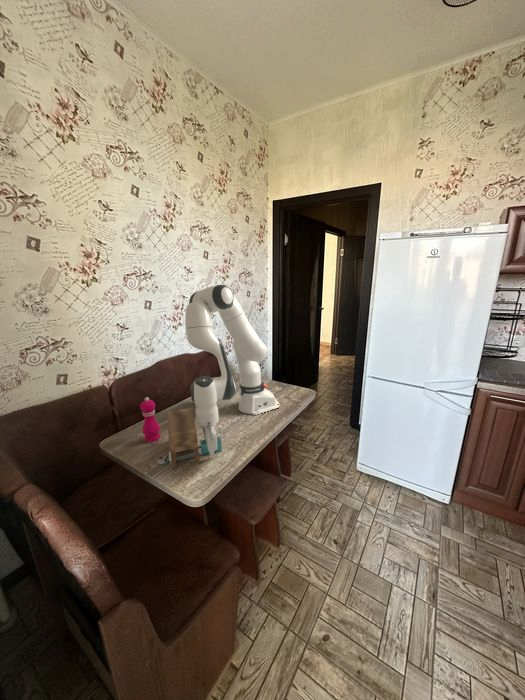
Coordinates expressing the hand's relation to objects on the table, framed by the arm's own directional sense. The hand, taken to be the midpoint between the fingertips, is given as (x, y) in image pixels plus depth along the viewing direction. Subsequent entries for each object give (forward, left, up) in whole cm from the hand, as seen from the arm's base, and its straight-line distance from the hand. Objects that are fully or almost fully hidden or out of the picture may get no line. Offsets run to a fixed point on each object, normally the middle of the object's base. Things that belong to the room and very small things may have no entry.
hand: (210, 447), depth 114 cm
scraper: (+6, 0, -2) cm, 6 cm away
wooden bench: (+10, -4, -2) cm, 11 cm away
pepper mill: (+23, -19, -2) cm, 30 cm away
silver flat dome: (+18, 0, -2) cm, 18 cm away
